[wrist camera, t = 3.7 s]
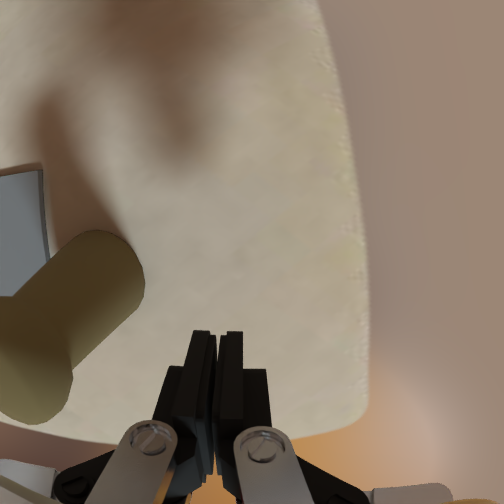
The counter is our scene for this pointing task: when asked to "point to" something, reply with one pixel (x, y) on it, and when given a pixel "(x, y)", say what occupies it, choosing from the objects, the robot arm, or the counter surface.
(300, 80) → the counter surface
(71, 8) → the counter surface
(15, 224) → the grey mat
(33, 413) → the olive brown rounded cylinder
